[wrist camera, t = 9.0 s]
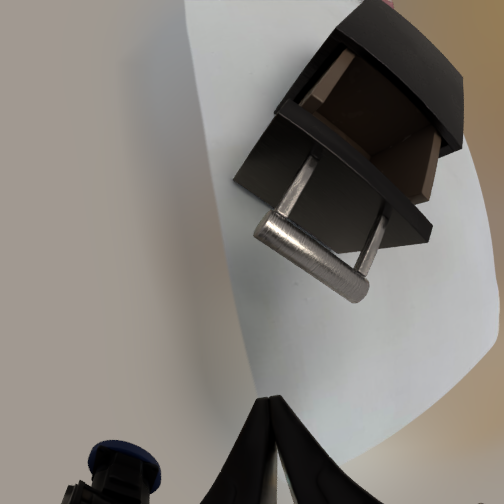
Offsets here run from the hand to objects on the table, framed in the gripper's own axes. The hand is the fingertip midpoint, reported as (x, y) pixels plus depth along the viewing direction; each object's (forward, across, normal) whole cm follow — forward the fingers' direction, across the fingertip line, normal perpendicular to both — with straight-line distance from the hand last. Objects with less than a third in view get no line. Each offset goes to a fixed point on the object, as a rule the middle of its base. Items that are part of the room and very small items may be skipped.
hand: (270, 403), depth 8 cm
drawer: (+16, -5, -5) cm, 17 cm away
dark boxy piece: (+21, -12, -12) cm, 27 cm away
